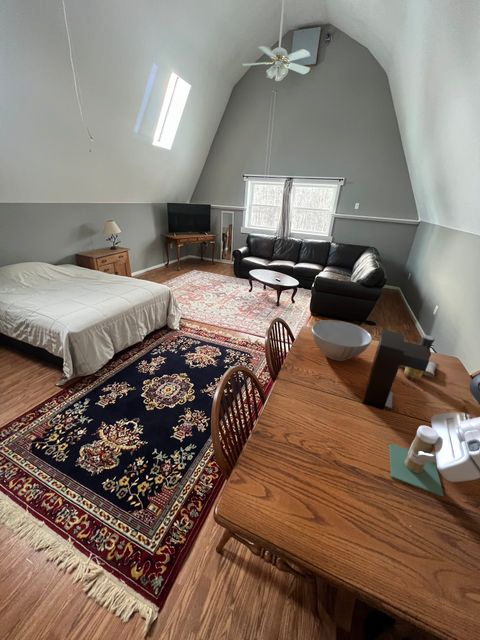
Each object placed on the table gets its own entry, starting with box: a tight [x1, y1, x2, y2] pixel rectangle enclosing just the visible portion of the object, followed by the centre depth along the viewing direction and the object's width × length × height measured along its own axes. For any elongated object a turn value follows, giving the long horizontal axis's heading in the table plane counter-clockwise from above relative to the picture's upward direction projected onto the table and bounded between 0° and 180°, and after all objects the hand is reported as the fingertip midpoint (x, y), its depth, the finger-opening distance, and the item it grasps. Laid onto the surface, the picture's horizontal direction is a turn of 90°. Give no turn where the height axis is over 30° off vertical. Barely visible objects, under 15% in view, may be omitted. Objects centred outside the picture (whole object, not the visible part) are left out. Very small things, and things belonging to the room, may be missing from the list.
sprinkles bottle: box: [405, 425, 439, 473], centre depth 73 cm, size 5×5×13 cm
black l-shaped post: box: [362, 329, 430, 411], centre depth 96 cm, size 14×14×25 cm
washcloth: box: [399, 360, 437, 378], centre depth 124 cm, size 12×18×3 cm, turn 51°
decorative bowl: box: [311, 319, 373, 362], centre depth 128 cm, size 27×27×12 cm
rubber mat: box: [388, 443, 444, 498], centre depth 76 cm, size 12×12×1 cm
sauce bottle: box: [403, 334, 436, 382], centre depth 111 cm, size 7×6×20 cm
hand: (418, 448), depth 73 cm, fingers closed on sprinkles bottle, 4 cm apart
